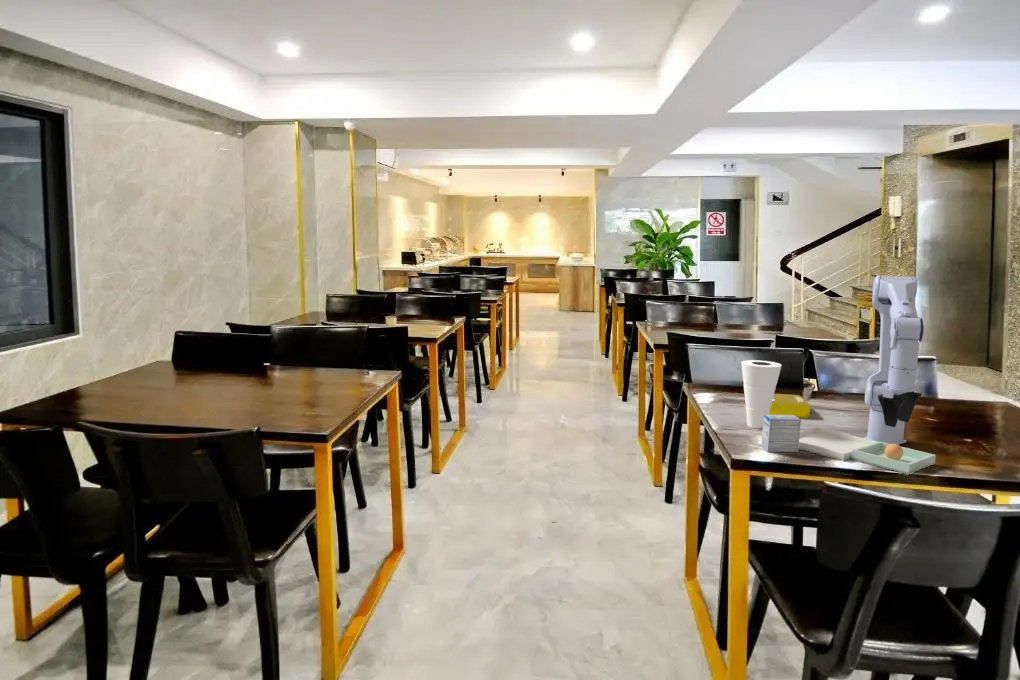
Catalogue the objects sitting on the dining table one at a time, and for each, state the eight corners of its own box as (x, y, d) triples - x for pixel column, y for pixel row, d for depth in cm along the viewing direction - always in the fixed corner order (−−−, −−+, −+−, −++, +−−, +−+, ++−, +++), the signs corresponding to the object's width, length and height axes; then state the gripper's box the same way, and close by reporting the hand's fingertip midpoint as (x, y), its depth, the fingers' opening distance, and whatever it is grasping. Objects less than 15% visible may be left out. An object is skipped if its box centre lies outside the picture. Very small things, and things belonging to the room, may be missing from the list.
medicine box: (791, 447, 188) (794, 414, 187) (798, 453, 184) (801, 419, 183) (760, 447, 188) (763, 414, 187) (767, 452, 184) (770, 418, 183)
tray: (814, 432, 203) (815, 426, 203) (880, 449, 189) (880, 442, 189) (776, 442, 192) (777, 436, 192) (843, 461, 178) (843, 453, 178)
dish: (878, 450, 187) (879, 441, 187) (934, 465, 177) (935, 454, 177) (851, 459, 179) (852, 449, 179) (908, 475, 169) (909, 464, 168)
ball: (888, 456, 181) (890, 440, 180) (905, 460, 178) (907, 444, 177) (880, 459, 178) (882, 443, 178) (897, 463, 175) (899, 447, 175)
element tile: (810, 420, 219) (812, 404, 218) (758, 416, 221) (759, 401, 220) (799, 408, 233) (800, 393, 233) (750, 405, 236) (751, 390, 235)
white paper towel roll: (779, 432, 202) (784, 368, 200) (738, 429, 204) (743, 365, 202) (773, 422, 213) (778, 361, 210) (735, 420, 215) (739, 359, 212)
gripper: (897, 362, 182) (892, 415, 184) (872, 368, 173) (866, 424, 175) (928, 366, 177) (922, 421, 179) (903, 373, 168) (897, 431, 170)
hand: (896, 423), depth 177 cm, fingers open, 7 cm apart
